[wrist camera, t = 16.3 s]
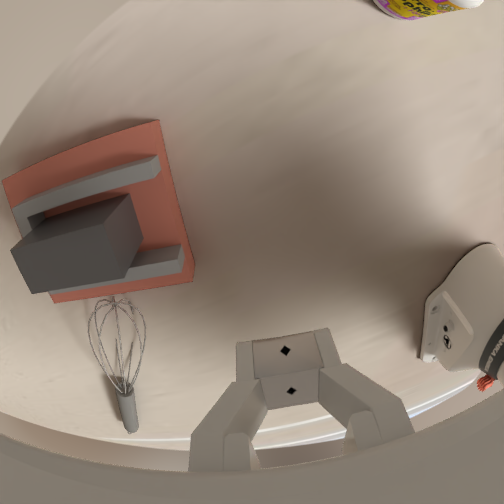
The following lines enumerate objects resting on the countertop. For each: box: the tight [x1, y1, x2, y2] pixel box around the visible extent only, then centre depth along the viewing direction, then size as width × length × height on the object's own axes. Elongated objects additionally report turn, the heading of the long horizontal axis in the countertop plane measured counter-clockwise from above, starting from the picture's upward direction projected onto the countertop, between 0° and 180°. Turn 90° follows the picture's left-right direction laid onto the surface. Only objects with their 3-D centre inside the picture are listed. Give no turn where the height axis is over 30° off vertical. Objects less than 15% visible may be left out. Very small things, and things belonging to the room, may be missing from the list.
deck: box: [2, 120, 195, 303], centre depth 23 cm, size 14×16×6 cm
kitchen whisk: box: [88, 296, 146, 434], centre depth 34 cm, size 6×34×6 cm, turn 166°
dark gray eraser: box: [10, 193, 144, 294], centre depth 20 cm, size 4×9×6 cm, turn 99°
